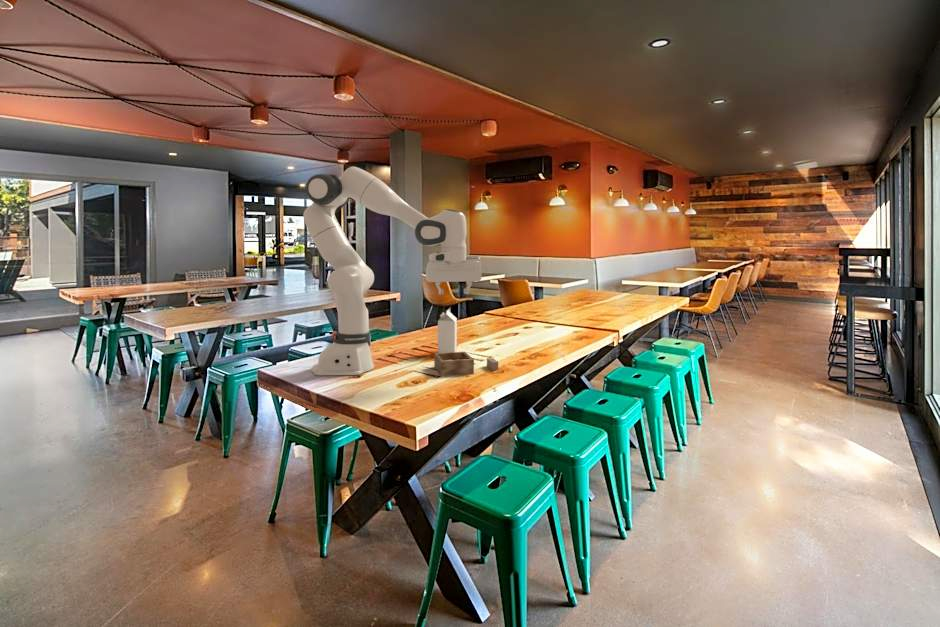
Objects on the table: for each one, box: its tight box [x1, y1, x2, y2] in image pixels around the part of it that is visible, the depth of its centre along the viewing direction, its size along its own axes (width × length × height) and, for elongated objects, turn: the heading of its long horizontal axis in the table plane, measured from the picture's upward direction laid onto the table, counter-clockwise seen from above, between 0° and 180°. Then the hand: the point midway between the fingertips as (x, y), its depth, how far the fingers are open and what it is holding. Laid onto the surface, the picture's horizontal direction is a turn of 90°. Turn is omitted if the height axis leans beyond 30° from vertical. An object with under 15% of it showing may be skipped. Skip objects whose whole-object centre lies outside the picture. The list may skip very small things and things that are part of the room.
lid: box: [486, 357, 499, 371], centre depth 185 cm, size 13×13×4 cm
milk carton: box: [437, 308, 458, 353], centre depth 206 cm, size 7×7×19 cm
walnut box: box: [433, 351, 475, 377], centre depth 182 cm, size 12×12×6 cm
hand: (453, 294), depth 178 cm, fingers open, 8 cm apart
